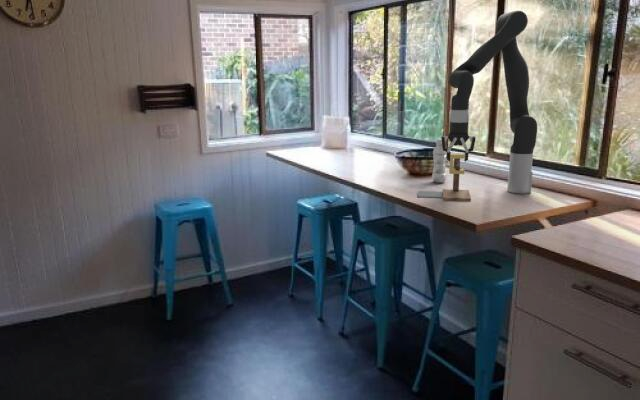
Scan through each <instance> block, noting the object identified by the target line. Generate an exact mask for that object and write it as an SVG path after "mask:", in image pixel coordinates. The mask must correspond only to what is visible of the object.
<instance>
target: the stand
mask: <svg viewBox="0 0 640 400" xmlns="http://www.w3.org/2000/svg"><path fill="white" fill-rule="evenodd" d="M453 169H456V170H457V171H459V170H460V169H461V159H454V158H453ZM452 175H453V176H452V189H447V188H442V201H447V202H449V201H450V202H451V201H453V202H471V201H472V198H471V194H470V190H469V189H460V174H452Z"/></svg>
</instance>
